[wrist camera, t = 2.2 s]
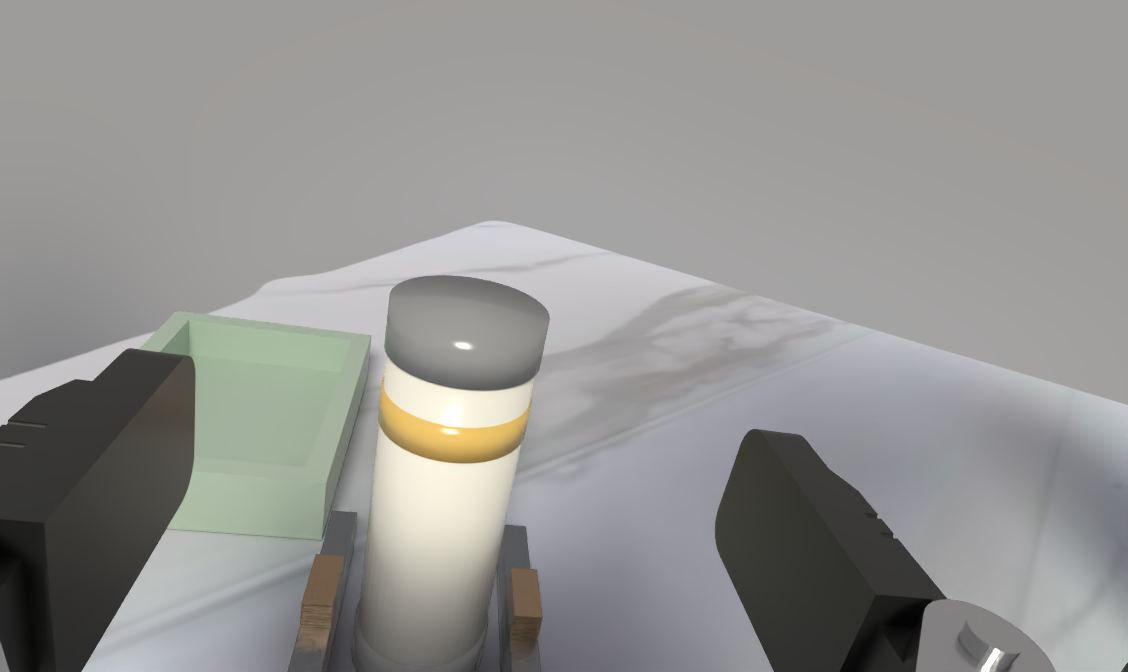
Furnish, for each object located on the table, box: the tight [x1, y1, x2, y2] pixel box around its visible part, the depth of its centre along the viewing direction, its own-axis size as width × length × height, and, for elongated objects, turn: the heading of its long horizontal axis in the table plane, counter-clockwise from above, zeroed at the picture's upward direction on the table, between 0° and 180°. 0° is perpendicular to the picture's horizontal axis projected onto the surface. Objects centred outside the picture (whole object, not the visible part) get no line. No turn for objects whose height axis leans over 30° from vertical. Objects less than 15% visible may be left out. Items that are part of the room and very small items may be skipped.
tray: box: [139, 311, 371, 540], centre depth 36 cm, size 11×15×3 cm
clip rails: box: [288, 511, 542, 672], centre depth 26 cm, size 8×10×3 cm
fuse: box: [352, 275, 550, 672], centre depth 24 cm, size 5×5×14 cm
